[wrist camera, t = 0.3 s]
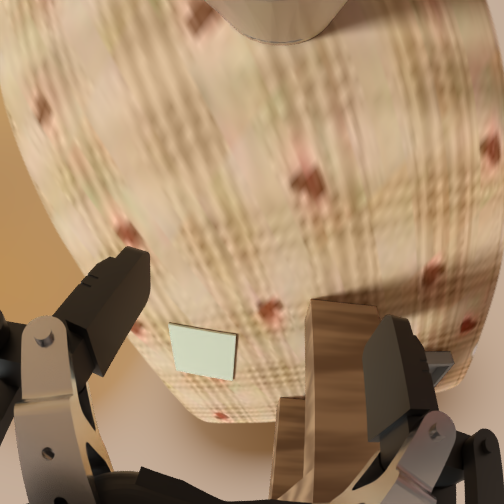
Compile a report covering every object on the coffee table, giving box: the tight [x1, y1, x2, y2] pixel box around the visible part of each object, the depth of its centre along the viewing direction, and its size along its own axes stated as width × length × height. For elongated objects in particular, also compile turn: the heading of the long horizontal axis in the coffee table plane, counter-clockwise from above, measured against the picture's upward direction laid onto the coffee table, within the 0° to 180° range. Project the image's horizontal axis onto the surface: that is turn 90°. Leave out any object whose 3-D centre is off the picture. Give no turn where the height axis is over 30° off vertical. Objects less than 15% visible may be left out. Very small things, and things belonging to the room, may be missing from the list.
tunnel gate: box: [268, 299, 381, 504], centre depth 30 cm, size 26×8×22 cm, turn 175°
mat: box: [168, 323, 236, 381], centre depth 40 cm, size 11×9×1 cm
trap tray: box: [425, 351, 454, 387], centre depth 38 cm, size 10×7×2 cm
